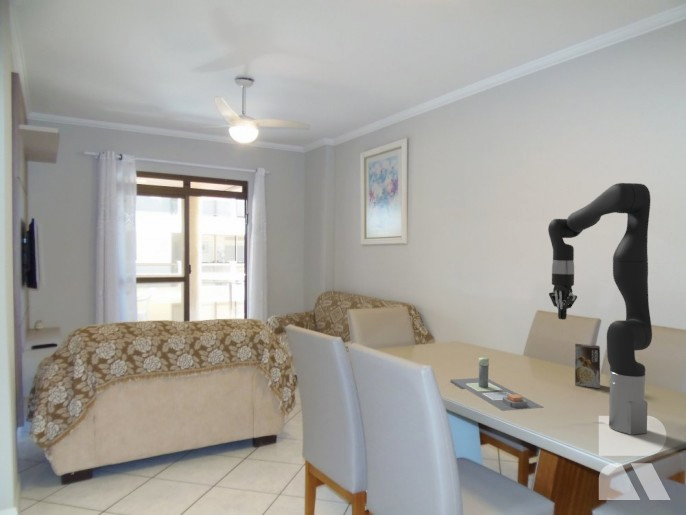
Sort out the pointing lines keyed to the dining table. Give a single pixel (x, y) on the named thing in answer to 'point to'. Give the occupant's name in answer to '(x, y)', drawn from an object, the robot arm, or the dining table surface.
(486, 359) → the marker
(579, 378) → the coffee box
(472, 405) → the dining table surface
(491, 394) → the picture board
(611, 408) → the robot arm
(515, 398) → the button
